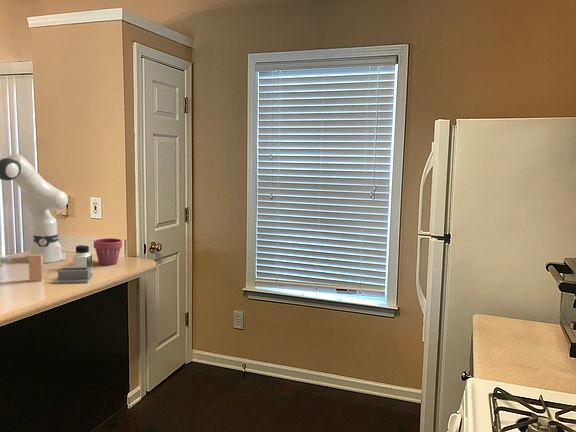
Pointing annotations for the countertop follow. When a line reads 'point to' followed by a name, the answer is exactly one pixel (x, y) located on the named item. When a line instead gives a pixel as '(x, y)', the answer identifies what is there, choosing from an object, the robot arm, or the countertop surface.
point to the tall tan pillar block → (35, 267)
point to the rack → (73, 275)
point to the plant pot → (107, 250)
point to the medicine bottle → (82, 257)
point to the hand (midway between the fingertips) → (6, 262)
